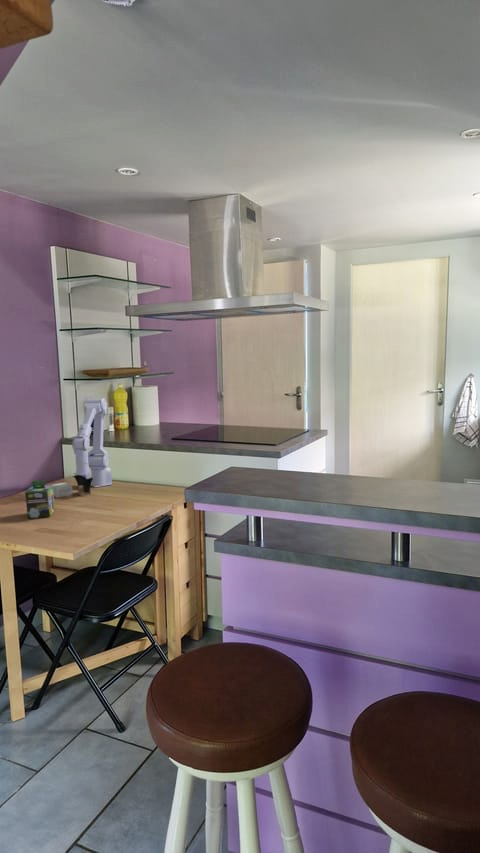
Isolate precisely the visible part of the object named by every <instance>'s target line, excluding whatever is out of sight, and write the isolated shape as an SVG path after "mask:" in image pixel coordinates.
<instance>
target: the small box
mask: <svg viewBox="0 0 480 853" xmlns="http://www.w3.org/2000/svg"><path fill="white" fill-rule="evenodd" d="M52 485H53V494H54V498H63V497H68V496H72V495H74V494H73V485H72V484H71V483H68V482H66V481H65V482H61V483H55V484H52Z"/></svg>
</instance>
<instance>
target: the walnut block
mask: <svg viewBox="0 0 480 853" xmlns="http://www.w3.org/2000/svg"><path fill="white" fill-rule="evenodd" d="M77 493H78V495H80V496H81V497H83V496H88V495H91V493H92V491H91V489H90V491H89V492H88V493H85V492H84V488H83V485H80V486H78V485H77Z"/></svg>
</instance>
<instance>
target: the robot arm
mask: <svg viewBox="0 0 480 853" xmlns="http://www.w3.org/2000/svg"><path fill="white" fill-rule="evenodd" d="M83 406H84V408H83V409H84V411H85V413H84V418H83V423H82V424H80V425H79V428H78V432H77V434H76V438H74V439H73V440H72V443H71V444H72V449H73V453H74V455H75V468H76V470H75V472H74V473H73V475H74V476H73V478H74V479H75V481H76V484H77V487H78V486H80V485H83V488H84V492H85V493H88V492H89V491H90V490H91V487H92V488H101V487H106V486H112V485H113V480H112V471H111V468H110V467H109V466H108V465H109V464H110V458H109V453H108V451H106V449H104V429H105V424H104V423H105V416H106V415H107V412H108V411H107V410H108V402H107V400H106V398H105V397H103V398H86V399H85V400H84V404H83ZM92 423H93V428H92V426H91V425H92ZM92 431H93V433H92ZM91 434H93V435H92V449H91V450H89V448H90V444H91V443H90V441H91V438H90V436H91Z"/></svg>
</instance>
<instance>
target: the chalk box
mask: <svg viewBox="0 0 480 853" xmlns="http://www.w3.org/2000/svg"><path fill="white" fill-rule="evenodd" d="M31 484H32V486H30V487H29V488H28V489H26V491H25V492H24V494H25V495H24V496H25V503H26V511H27V519H38V518H39V519H41V518H51V516H52V515H53V514H54V513H55V511H56V506H55V505H56V504H55V496H54V494H53V484H50V485H49V484H47V485H45V481H44V480H32V481H31ZM37 484H40V485H37Z"/></svg>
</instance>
